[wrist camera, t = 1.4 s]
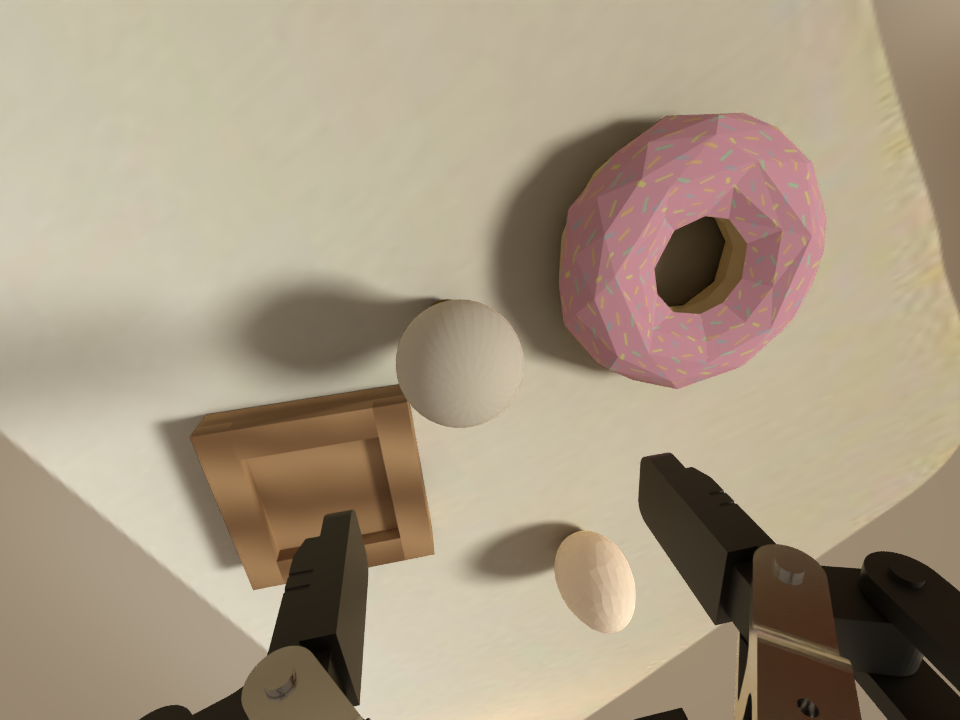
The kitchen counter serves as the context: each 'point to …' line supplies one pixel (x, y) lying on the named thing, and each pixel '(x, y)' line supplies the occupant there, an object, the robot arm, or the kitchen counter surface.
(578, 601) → the egg
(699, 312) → the donut
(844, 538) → the kitchen counter surface
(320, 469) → the base
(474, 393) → the light bulb
